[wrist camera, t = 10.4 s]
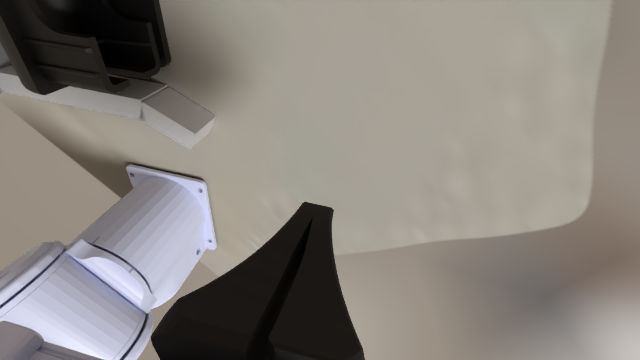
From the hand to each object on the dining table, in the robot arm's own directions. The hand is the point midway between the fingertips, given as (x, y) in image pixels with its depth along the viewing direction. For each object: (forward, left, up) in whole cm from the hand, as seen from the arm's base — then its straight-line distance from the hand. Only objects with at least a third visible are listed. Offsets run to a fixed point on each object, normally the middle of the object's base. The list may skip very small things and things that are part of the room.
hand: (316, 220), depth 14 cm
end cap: (+7, +17, -10) cm, 21 cm away
